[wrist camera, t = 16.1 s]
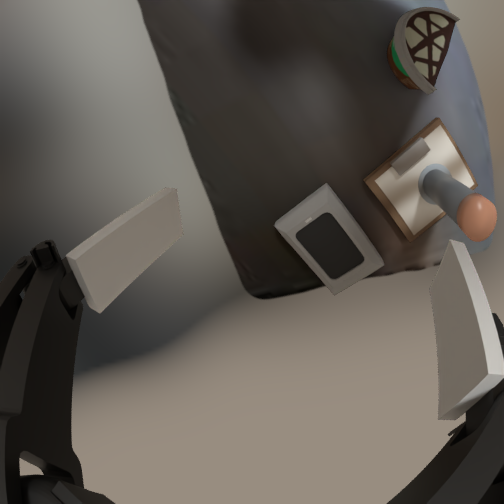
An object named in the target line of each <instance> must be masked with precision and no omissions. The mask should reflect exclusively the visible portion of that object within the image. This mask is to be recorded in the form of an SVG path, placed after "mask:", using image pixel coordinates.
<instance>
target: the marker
mask: <svg viewBox="0 0 504 504" xmlns="http://www.w3.org/2000/svg"><path fill="white" fill-rule="evenodd" d="M423 190H424V192H425V194H426V195H427V196H428V197H429V198H430V199H431V200H432V201H433V202H435V203H436V204H437V205H438V206H439V207H440V208H441V209H442V210H443V211H444V212H445V213H446V214H447V215H448V216H449V217H450V218H451V219H452V220H453V221H454V222H455V223H456V224H457V225H458V226H459V227H460V229H461V230H462V231H463V232H464V233H465V234H466V235H467V236H468V237H469V238H470V239H471V240H472V241H475V242H480V241H483V240H485V239H486V238H488V237H489V236H490V234H491V233H492V232H493V230H494V228H495V225H496V221H497V212H496V208H495V206H494V205H493V203H492V202H490V201H489V200H488V199H486V198H485V197H483V196H482V195H480V194H478V193H476V192H475V191H473V190H472V189H470V188H469V187H467V186H465V185H464V184H462V183H461V182H459V181H458V180H456V179H454V178H453V177H451V176H449V175H448V174H446V173H444V172H443V171H441V170H438V169H434V170H431V171H429V172H428V173H427V174H426V175H425V177H424V180H423Z"/></svg>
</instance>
